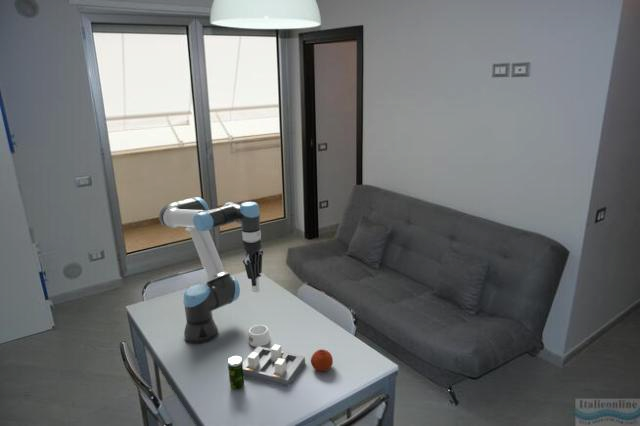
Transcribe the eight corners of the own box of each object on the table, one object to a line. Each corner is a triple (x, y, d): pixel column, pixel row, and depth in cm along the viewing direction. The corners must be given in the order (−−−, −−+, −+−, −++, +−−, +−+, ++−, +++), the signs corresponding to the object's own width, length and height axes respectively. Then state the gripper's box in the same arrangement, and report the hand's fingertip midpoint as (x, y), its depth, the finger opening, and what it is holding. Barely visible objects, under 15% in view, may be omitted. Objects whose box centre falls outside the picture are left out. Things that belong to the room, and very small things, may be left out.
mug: (274, 341, 204) (273, 329, 202) (257, 350, 197) (256, 338, 195) (258, 331, 212) (257, 319, 210) (241, 339, 205) (240, 328, 204)
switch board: (238, 374, 181) (238, 367, 181) (258, 352, 196) (258, 345, 195) (287, 386, 173) (287, 379, 172) (304, 362, 187) (304, 356, 187)
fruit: (311, 361, 188) (310, 345, 186) (332, 361, 188) (332, 345, 185) (310, 375, 180) (309, 358, 177) (332, 375, 179) (332, 358, 177)
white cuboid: (271, 361, 187) (270, 348, 185) (275, 356, 190) (274, 344, 188) (277, 362, 185) (277, 350, 184) (281, 358, 189) (281, 345, 187)
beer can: (238, 380, 178) (235, 354, 174) (247, 385, 175) (245, 359, 171) (227, 387, 174) (224, 360, 170) (236, 393, 171) (233, 366, 167)
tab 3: (275, 376, 177) (274, 363, 175) (279, 370, 180) (278, 357, 179) (282, 378, 176) (281, 364, 174) (286, 372, 179) (285, 359, 178)
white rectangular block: (248, 369, 182) (247, 356, 180) (253, 364, 185) (252, 351, 183) (255, 371, 181) (254, 358, 179) (259, 366, 184) (258, 353, 182)
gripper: (251, 246, 179) (256, 299, 186) (267, 235, 190) (271, 286, 197) (235, 244, 182) (240, 296, 189) (252, 233, 193) (256, 283, 200)
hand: (256, 291), depth 193 cm, fingers closed
